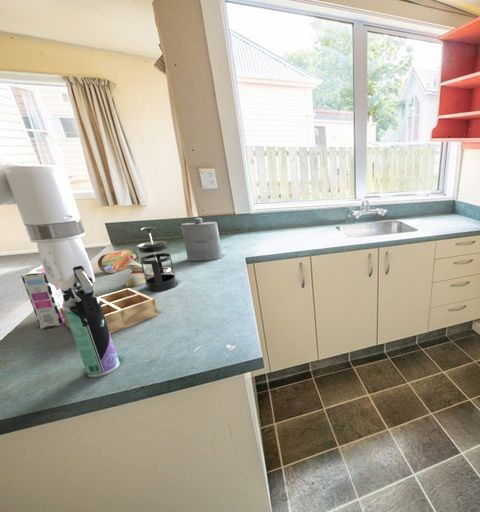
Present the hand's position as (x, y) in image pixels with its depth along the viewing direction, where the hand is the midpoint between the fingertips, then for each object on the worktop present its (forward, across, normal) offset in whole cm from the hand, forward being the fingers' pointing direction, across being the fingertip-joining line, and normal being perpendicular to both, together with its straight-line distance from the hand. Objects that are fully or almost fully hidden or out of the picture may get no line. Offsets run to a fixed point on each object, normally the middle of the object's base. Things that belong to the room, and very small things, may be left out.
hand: (84, 311), depth 64 cm
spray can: (+15, 0, 0) cm, 15 cm away
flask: (+15, -58, +59) cm, 84 cm away
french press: (+15, -39, +31) cm, 52 cm away
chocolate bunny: (+15, -51, +28) cm, 60 cm away
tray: (+15, -25, +11) cm, 31 cm away
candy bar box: (+15, -40, +4) cm, 43 cm away
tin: (+15, -75, +32) cm, 83 cm away
